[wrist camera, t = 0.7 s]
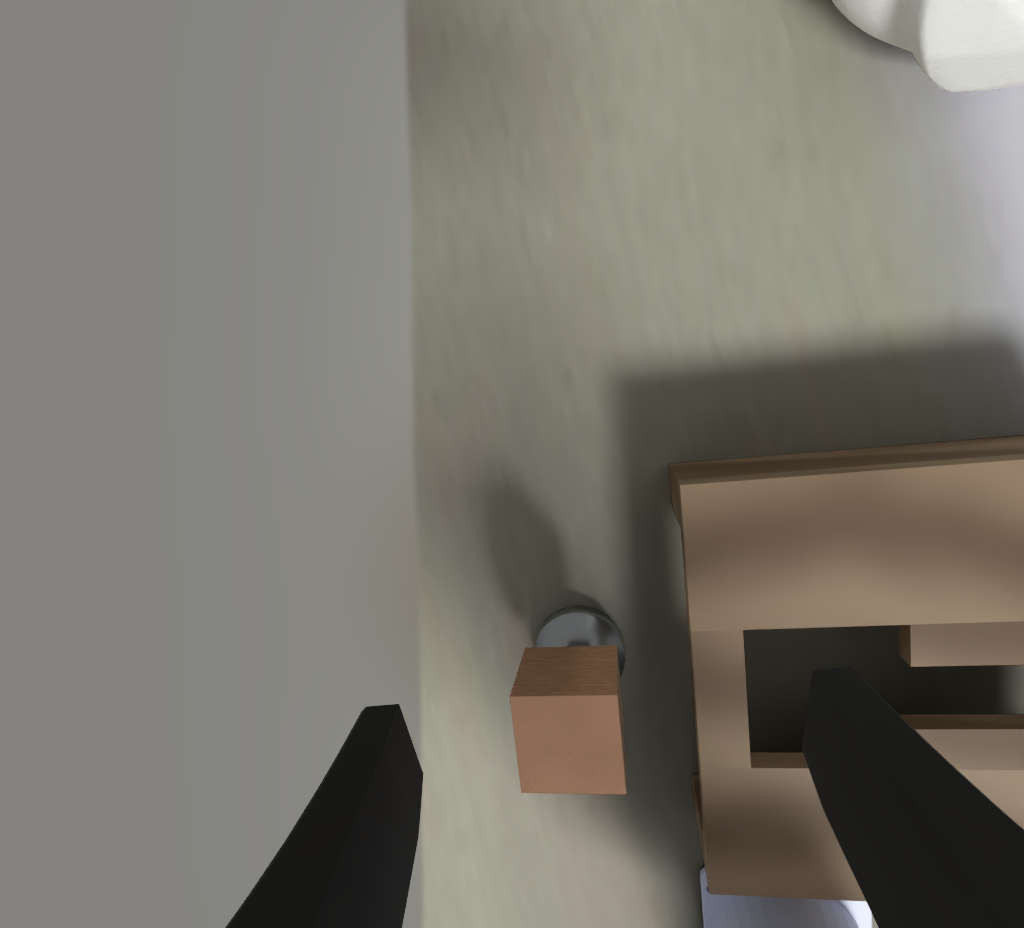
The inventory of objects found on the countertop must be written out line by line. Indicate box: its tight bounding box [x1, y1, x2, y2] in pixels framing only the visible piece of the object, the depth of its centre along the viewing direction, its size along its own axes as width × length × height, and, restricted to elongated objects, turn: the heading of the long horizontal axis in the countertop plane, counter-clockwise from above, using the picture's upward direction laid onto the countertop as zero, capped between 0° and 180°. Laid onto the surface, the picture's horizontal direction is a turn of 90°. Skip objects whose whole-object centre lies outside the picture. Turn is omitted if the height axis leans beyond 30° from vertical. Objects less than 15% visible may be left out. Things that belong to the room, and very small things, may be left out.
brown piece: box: [510, 606, 626, 794], centre depth 26 cm, size 4×4×8 cm
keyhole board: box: [669, 435, 1024, 901], centre depth 25 cm, size 18×16×5 cm
